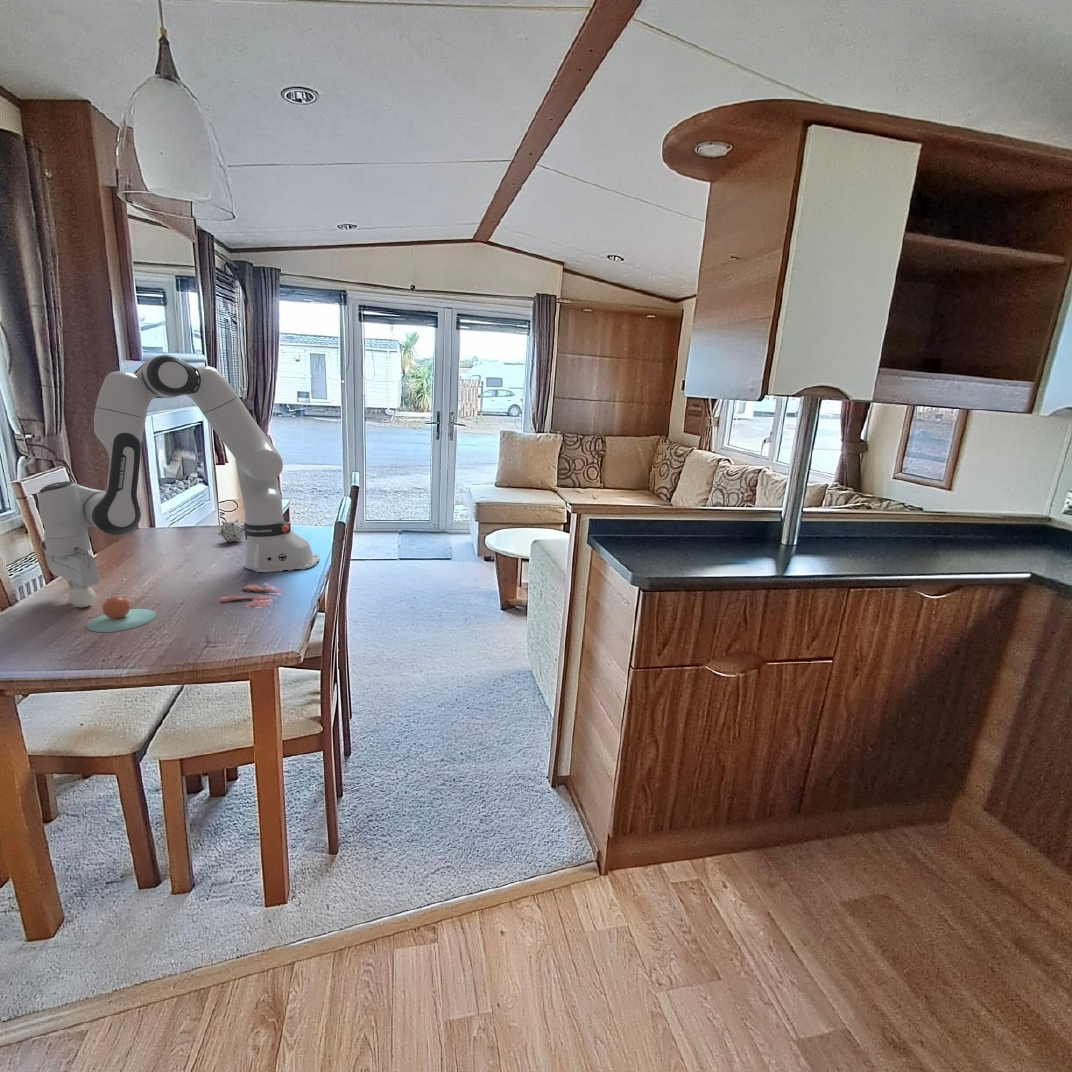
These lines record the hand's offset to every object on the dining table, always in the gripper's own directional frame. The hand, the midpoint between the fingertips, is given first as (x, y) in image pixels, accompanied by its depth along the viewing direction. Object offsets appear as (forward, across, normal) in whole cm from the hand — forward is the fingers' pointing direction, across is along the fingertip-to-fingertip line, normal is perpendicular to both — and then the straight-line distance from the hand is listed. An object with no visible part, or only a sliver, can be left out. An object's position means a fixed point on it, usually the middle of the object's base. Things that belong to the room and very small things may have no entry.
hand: (78, 595), depth 152 cm
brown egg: (-1, -21, 0) cm, 21 cm away
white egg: (-1, -6, +1) cm, 6 cm away
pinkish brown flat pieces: (+3, -32, -28) cm, 43 cm away
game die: (+2, +22, -56) cm, 60 cm away
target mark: (+2, -23, 0) cm, 23 cm away
